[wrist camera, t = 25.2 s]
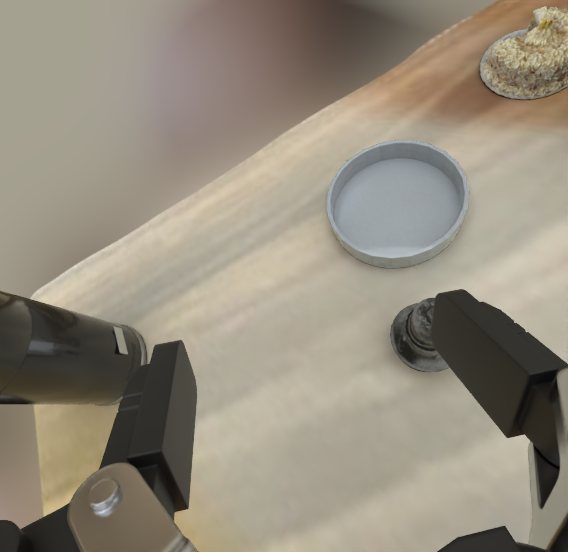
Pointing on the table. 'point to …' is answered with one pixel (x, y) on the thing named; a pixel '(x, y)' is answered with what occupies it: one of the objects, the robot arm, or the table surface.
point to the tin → (398, 203)
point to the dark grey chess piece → (416, 337)
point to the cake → (530, 58)
